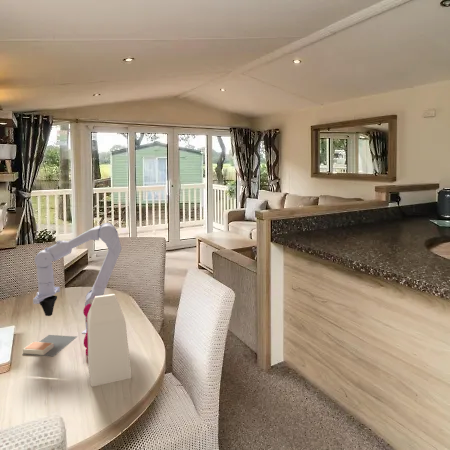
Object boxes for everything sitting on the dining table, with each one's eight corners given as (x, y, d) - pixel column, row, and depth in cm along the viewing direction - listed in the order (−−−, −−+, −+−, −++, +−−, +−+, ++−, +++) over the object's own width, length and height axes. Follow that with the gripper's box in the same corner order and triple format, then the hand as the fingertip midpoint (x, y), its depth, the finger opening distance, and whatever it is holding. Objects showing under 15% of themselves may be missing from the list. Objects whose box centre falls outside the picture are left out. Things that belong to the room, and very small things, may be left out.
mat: (77, 337, 150) (77, 336, 150) (53, 357, 134) (53, 356, 134) (48, 335, 152) (48, 334, 152) (22, 355, 136) (21, 354, 136)
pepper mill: (83, 350, 139) (80, 297, 136) (104, 346, 142) (101, 294, 139) (85, 359, 133) (81, 304, 130) (106, 355, 136) (103, 301, 132)
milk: (91, 386, 116) (85, 304, 113) (88, 368, 127) (83, 292, 123) (131, 377, 121) (127, 298, 117) (125, 361, 132) (121, 287, 128)
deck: (53, 342, 141) (43, 350, 135) (53, 347, 141) (43, 354, 136) (33, 341, 142) (22, 348, 136) (33, 345, 143) (23, 353, 137)
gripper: (47, 275, 156) (50, 308, 158) (24, 287, 141) (27, 322, 143) (63, 276, 155) (66, 308, 157) (42, 287, 140) (45, 323, 143)
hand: (48, 315), depth 150 cm, fingers closed
